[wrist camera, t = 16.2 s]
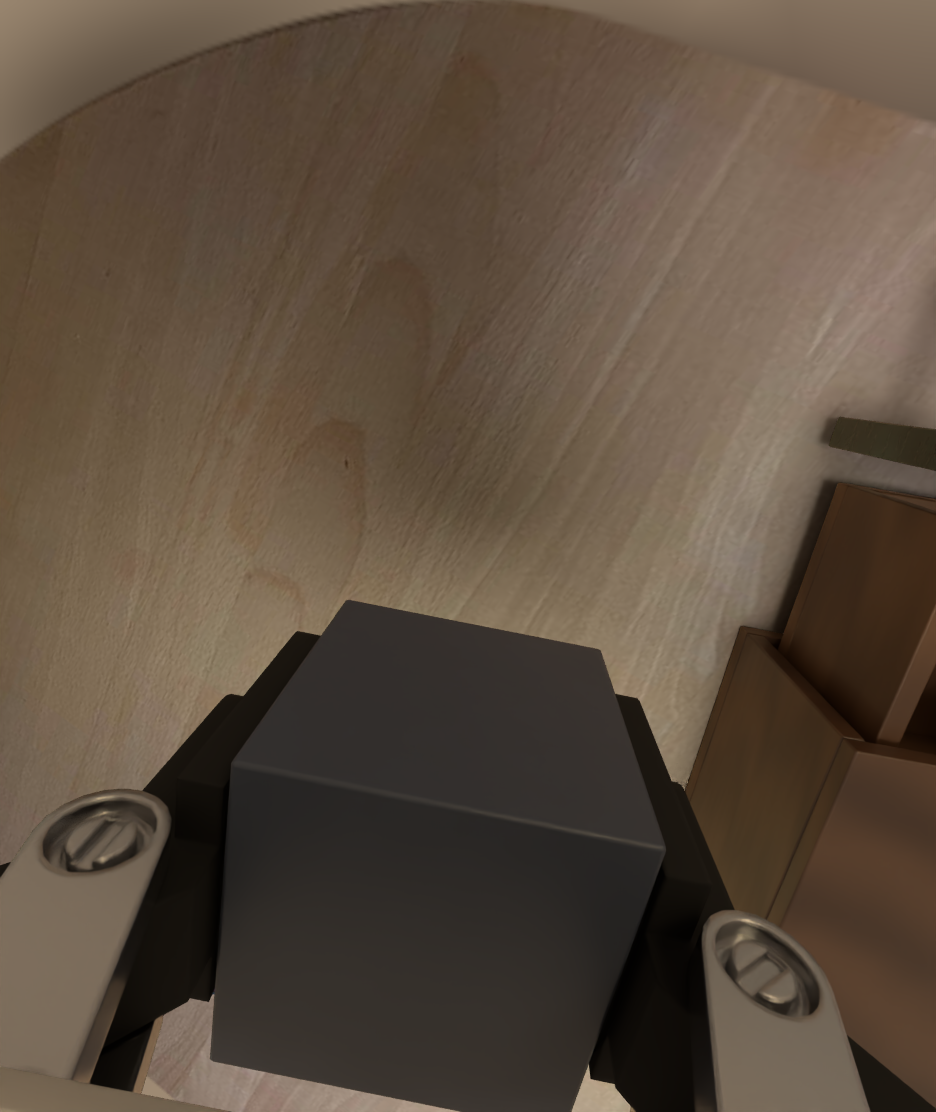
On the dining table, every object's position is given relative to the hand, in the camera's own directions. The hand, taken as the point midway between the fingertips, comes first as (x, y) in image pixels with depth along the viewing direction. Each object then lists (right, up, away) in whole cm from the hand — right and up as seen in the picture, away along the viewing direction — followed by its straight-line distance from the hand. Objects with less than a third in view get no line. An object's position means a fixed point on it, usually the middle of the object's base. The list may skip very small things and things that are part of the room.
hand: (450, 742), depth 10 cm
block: (0, 0, 0) cm, 0 cm away
